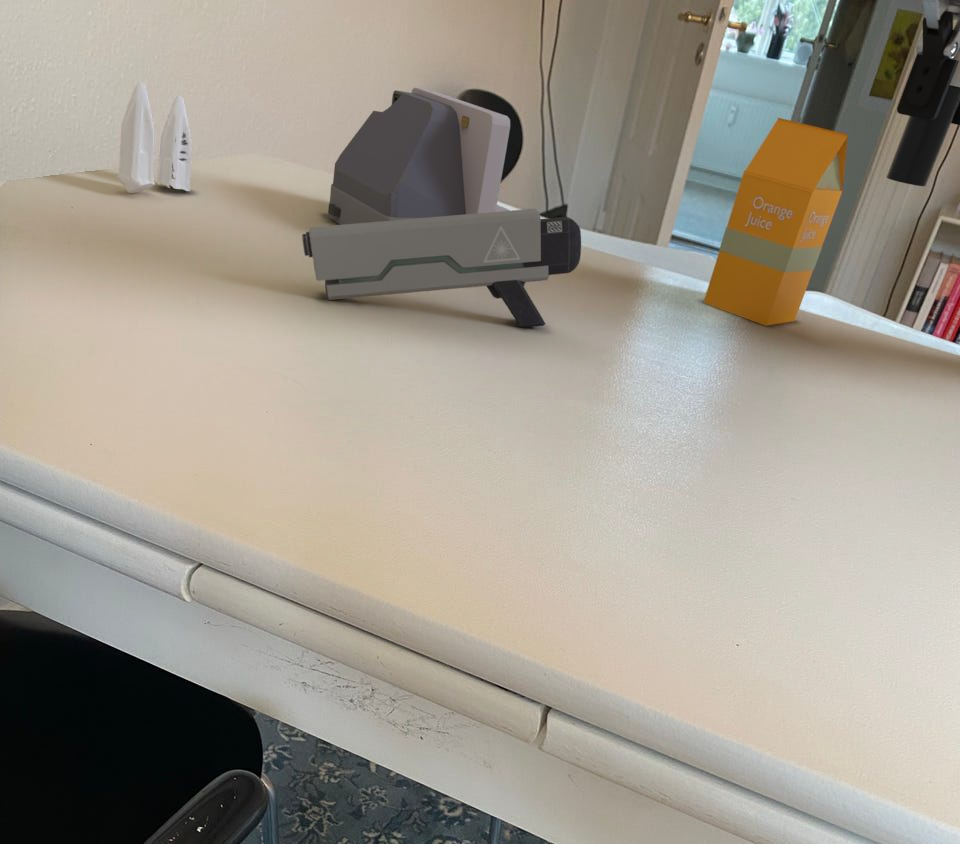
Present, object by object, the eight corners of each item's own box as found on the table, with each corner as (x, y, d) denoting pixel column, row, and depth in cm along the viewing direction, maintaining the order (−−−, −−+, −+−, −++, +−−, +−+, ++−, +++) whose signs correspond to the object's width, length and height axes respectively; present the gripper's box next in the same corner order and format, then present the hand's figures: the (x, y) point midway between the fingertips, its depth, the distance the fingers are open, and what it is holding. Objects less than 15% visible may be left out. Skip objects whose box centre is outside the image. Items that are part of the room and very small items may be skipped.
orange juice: (765, 326, 105) (833, 132, 94) (702, 302, 109) (760, 114, 98) (795, 321, 110) (863, 137, 99) (734, 298, 115) (792, 119, 103)
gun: (582, 323, 86) (584, 209, 81) (318, 348, 84) (301, 233, 78) (576, 315, 88) (578, 204, 83) (318, 339, 86) (301, 227, 80)
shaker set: (136, 201, 100) (132, 86, 94) (105, 192, 101) (99, 77, 95) (202, 192, 110) (202, 88, 104) (173, 184, 111) (171, 80, 105)
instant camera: (531, 270, 107) (559, 127, 99) (363, 254, 99) (378, 97, 90) (465, 225, 123) (485, 98, 114) (315, 208, 114) (324, 70, 106)
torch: (894, 176, 78) (947, 38, 72) (942, 189, 75) (1000, 47, 70) (869, 174, 75) (922, 31, 69) (917, 187, 73) (976, 39, 67)
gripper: (1057, -220, 55) (925, 121, 65) (1143, -150, 65) (1017, 136, 75) (942, -218, 59) (835, 101, 70) (1040, -153, 69) (934, 118, 80)
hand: (931, 116), depth 72 cm, fingers closed on torch, 4 cm apart
